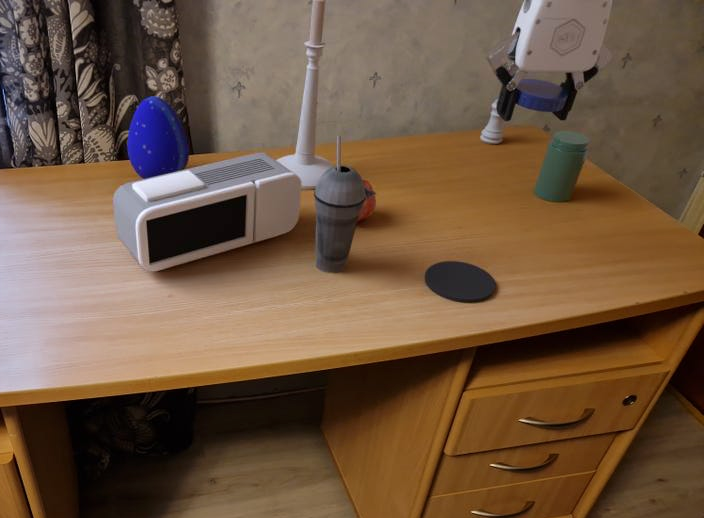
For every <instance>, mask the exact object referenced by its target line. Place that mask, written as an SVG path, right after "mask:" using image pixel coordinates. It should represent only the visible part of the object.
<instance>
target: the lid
mask: <svg viewBox="0 0 704 518" xmlns="http://www.w3.org/2000/svg"><path fill="white" fill-rule="evenodd" d="M516 90H517V91H518V92H519V93H518V97H517V101H516V104H515V105H518V106H520V107H522V108H525V109H528V110H531V111H536V112H541V113H552V112H555V111H559V110H561V109H562V108H563V107H564V105H565V103H566V100H567V97H568V92H567V91H566V90H565V89H564V88H562V87H561V86H560V85H558V84H556V83H553V82H550V81H547V80H546V81H545V80H543V79H536V78H523V79H522V80H521V82H520V83H519V84H518V86H517V87H516Z"/></svg>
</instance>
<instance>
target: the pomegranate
mask: <svg viewBox="0 0 704 518" xmlns="http://www.w3.org/2000/svg"><path fill="white" fill-rule="evenodd" d="M363 182H364V186H365V198H366V199H365V201H364V203H363V206H362V209H361V211H360V213H359V217H358V221H357V222H360V221H362V220H365V219H367V218H369V217H370V216H371V215H372V214H373V212H374V211H375V210H376V207H377V198H376V195H378V193H377V192H376V191H374V189H373V186H372V185H371V183H370V182H369V180H367V179H363Z"/></svg>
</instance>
